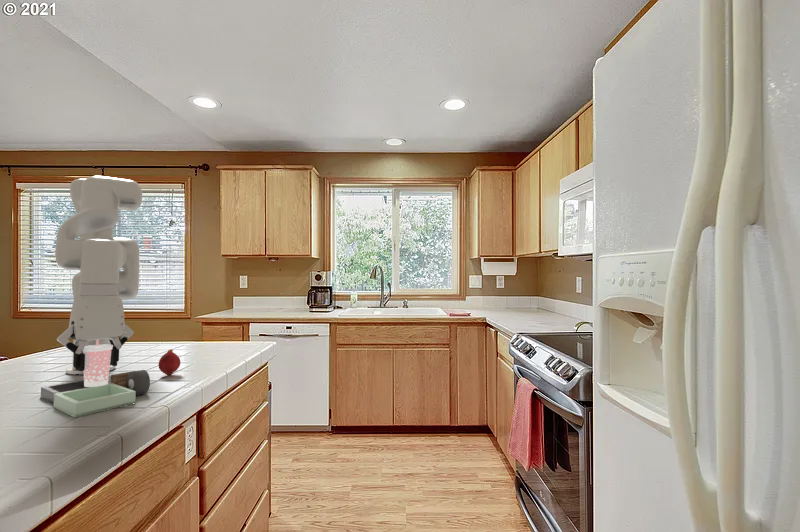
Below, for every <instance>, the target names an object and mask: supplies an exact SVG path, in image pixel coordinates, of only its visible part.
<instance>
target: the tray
mask: <svg viewBox="0 0 800 532" xmlns="http://www.w3.org/2000/svg"><path fill="white" fill-rule="evenodd" d="M136 396H137V395H136V391H134V390H131V389H128V388H125V387H122V386H119V385H116V384H113V383H111V382H110V383H108V384H106V385H103V386H97V387H89V388H84V389H78V390H73V391H68V392H62V393H57V394H54V403H53V408H54V409H56V410H59V411H61V412H63V413H65V414H66V415H69V416H70V417H73V418H80V417H84V416H88V415H92V414H96V412H98V413H101V411H102V412H104V410H106V411H109V410H108V409H110V410H113V409H112V408H115V409H118V408H117V407H119V408H122V407H121V406H123V407H126V406H125V405H128V406H130V405H129V404H132V405H134V404H133V403H135V404H136Z"/></svg>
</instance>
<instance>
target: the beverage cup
mask: <svg viewBox="0 0 800 532" xmlns="http://www.w3.org/2000/svg"><path fill="white" fill-rule="evenodd" d="M112 347H113V345H111V344H100V345H99V340H96V345H89V346H85V347H84V349H83V353H84V354H85V370H84V374H83V380H84V386H85V387H97V386H103V385H106V384H109V379H110V378H109V377H110V371H109V369H110V359H111V350H112V349H113V348H112Z"/></svg>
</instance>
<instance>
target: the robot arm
mask: <svg viewBox="0 0 800 532" xmlns="http://www.w3.org/2000/svg"><path fill="white" fill-rule="evenodd" d="M69 194H70V198H71V203H72V204H73V207H74V209H75V211H76V213H75V214H73V215H72V216H70V217H68V218H67V219H66V220H64V222H63V223H62V224H61V225H60V227H59V228H58V230H57V233H56V238H55V239H56V241H55V250H54V252H55V253H54V255H55V257H54V258H55V262H56V264H57V265H58V266H59V268H61V269H62V268H63V270H64V269H65V270H73V271H74V270H75V271H76V270H78V271H79V272H77V273H76V274H74V275H73V277H72V279H71V288H72V289H71V290H72V297H73V302H72V306H71V310H70V316H69V322H68V323H69V324H68V328H66V329H65V330H64V331H63V332H62V333H61V334H60V335H59V336H57V337H56V341H57V342H59V343H60V344H61V345H62V346H64V347H65V348H67V349H68V350H69V351H71V353H72V365H71V366H69V367H66V369H65V374H68V375H76V374H79V375H84V370H85V354H84V353H83V349H84V347H85V346H89V345H96V340H99V345H100V344H111V345H113V347H112V348H113V349H112V350H111V359H110V369H109V372H110V371H112V370H115V369H116V367H117V366H118V362H119V361H120V349H121V348H122V347H123V345H125V343H126V342H127V341H128V340H129V339H130V338H131V337H132V336H133V335H134V334H135V330H133V329H132V328H131V327H130V326H129V325H127V323H125V310H124V303H123V301H125V300H126V301H128V300H134V299H135V298H136V297H137V296H138V294H139V287H140V286H139V284H140V247H139V244H138V242H137V241H136V240H135V239H133V238H127V237H115V236H114V234H113V231H114V226H116V225H117V224H118V221H119V218H120V215H119V210H123V211H135V210H138V209H139V208H140V207H141V205H142V201H143V190H142V188H141V186H140V184H139V183H138V182H136V181H135V180H132V179H126V178H120V177H119V178H118V177H111V176H103V175H93V176H89V177H87V178H77V179H74V180H72V181H71V182H70V186H69ZM77 238H78V239H77ZM120 269H122V270H120ZM69 339H71V340H73V341H70V340H69Z"/></svg>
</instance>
